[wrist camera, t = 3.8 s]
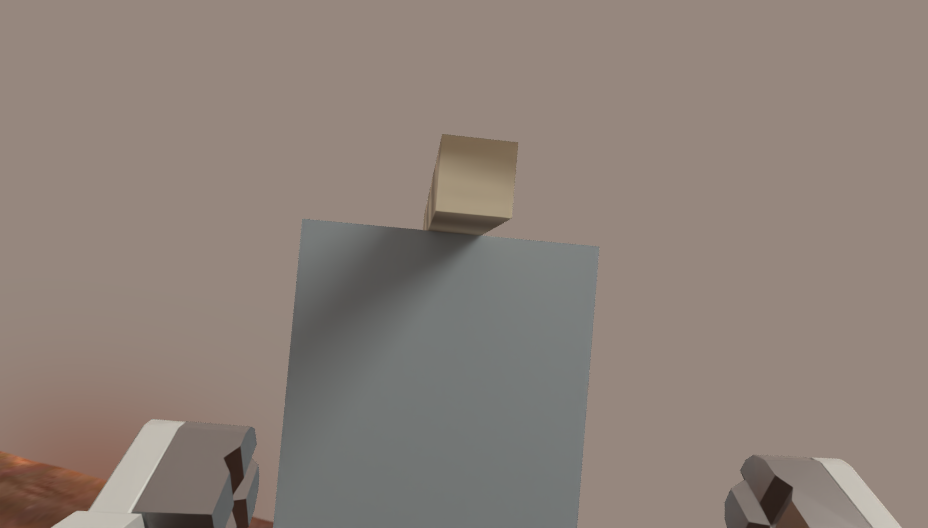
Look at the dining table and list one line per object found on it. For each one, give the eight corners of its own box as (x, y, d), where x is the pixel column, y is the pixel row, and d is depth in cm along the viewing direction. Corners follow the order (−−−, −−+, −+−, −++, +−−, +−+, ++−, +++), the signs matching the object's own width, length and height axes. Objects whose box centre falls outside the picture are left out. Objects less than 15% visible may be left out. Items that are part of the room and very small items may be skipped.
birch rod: (511, 218, 18) (518, 142, 18) (435, 210, 18) (442, 134, 18) (454, 250, 42) (457, 217, 42) (421, 247, 42) (424, 214, 42)
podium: (555, 800, 26) (599, 246, 27) (247, 800, 25) (302, 218, 25) (509, 634, 38) (540, 255, 39) (300, 628, 36) (337, 236, 37)
